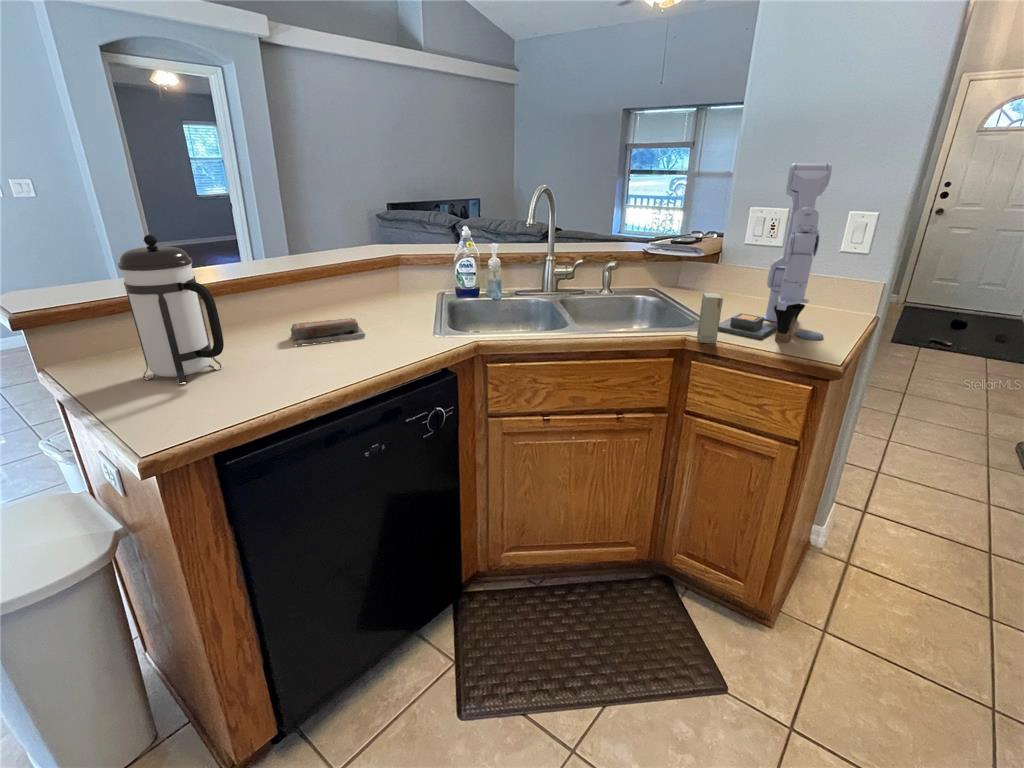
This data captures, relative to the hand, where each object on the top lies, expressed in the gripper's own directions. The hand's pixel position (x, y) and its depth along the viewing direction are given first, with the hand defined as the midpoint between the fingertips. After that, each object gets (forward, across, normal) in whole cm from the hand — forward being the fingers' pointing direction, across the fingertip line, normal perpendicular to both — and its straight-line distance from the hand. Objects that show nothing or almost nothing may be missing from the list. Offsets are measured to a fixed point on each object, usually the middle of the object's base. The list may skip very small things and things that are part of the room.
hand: (784, 331), depth 141 cm
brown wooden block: (+2, 0, 0) cm, 2 cm away
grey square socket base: (+2, +3, +11) cm, 12 cm away
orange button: (0, +3, +11) cm, 11 cm away
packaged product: (+3, -83, +90) cm, 122 cm away
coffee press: (+3, -118, +87) cm, 147 cm away
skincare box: (+3, -14, +15) cm, 21 cm away
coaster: (+2, +9, -4) cm, 10 cm away
